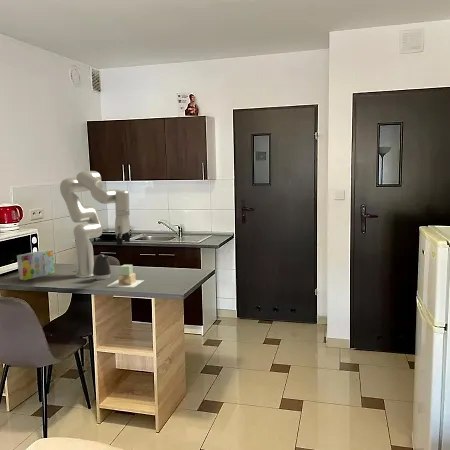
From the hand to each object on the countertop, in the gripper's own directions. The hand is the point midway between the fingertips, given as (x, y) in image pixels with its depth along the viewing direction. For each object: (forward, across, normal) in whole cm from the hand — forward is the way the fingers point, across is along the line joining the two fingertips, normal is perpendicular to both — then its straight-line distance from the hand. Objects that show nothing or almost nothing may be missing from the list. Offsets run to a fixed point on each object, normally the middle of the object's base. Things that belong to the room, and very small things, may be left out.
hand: (123, 243), depth 258 cm
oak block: (+21, +6, +4) cm, 22 cm away
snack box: (+25, -7, -61) cm, 66 cm away
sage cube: (+16, +6, +4) cm, 18 cm away
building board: (+22, +6, +4) cm, 23 cm away
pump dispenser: (+23, -4, -16) cm, 28 cm away
